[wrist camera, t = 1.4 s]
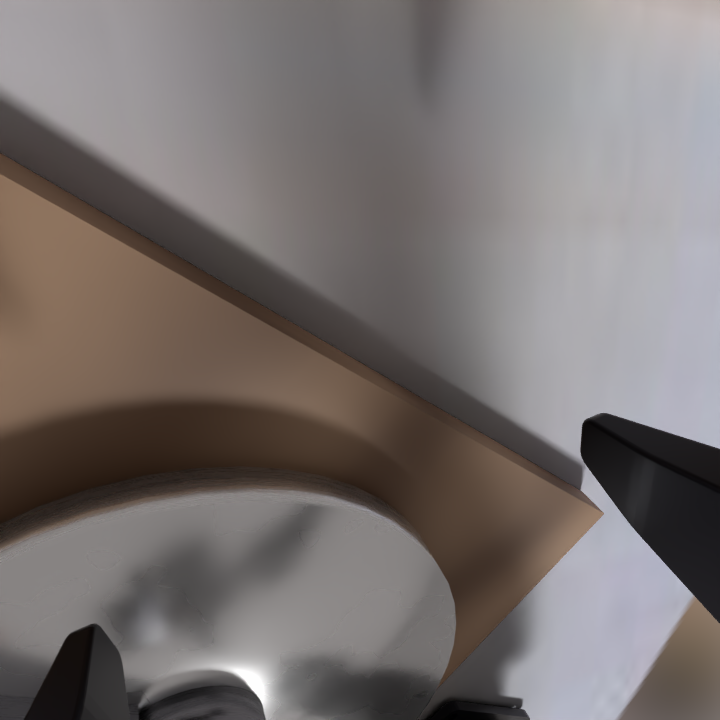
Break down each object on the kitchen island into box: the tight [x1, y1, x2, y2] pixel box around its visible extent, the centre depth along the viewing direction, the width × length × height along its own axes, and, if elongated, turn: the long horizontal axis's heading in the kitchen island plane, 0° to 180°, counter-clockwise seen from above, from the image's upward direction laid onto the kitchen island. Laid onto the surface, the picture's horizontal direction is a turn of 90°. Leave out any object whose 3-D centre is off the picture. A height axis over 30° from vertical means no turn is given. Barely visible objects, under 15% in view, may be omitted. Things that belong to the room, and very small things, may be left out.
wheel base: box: [0, 153, 604, 690], centre depth 17 cm, size 21×21×1 cm
